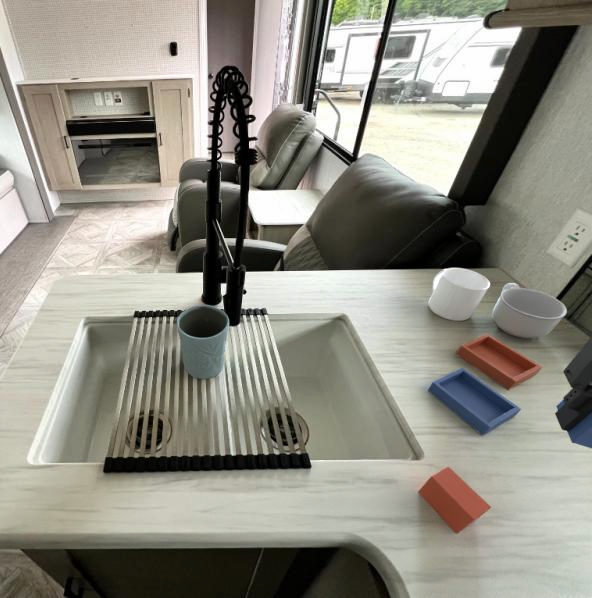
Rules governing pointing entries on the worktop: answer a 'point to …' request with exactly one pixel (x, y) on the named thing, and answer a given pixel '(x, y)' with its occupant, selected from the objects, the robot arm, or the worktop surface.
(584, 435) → the blue rectangular block
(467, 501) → the rust bar
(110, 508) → the worktop surface
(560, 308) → the teacup
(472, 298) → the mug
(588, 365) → the robot arm
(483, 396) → the tray blue
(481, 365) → the tray rust
